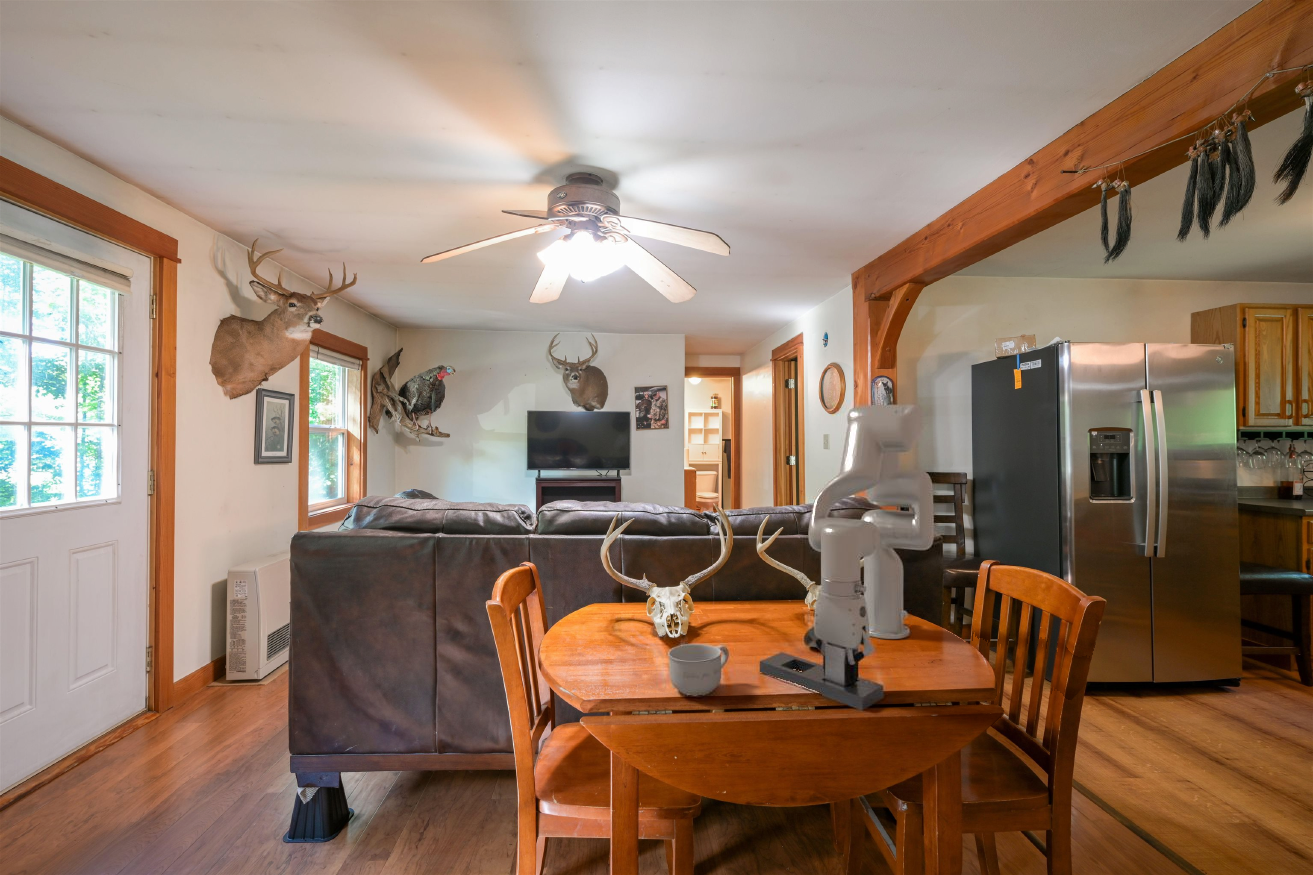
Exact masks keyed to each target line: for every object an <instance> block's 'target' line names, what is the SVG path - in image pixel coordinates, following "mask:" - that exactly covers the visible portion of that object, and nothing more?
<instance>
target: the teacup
mask: <svg viewBox="0 0 1313 875" xmlns="http://www.w3.org/2000/svg"><path fill="white" fill-rule="evenodd" d="M729 655H730V653H729V649H728V647H726V646H725V645H723V644H719V645H717V646H714V645H710V644H705V643H687V644H682V645H678V646H675V647H672V648H670V649H669V650H668V652H667V656H668V669H669V678H670V682H671V684H672V686H673V687H674V688H675V689H676V690H677V691H679V693H681V692H682V693H684V694H683V695H685V694H689V695H703V696H706V695H705V694H707V695H709V694H711V693H712V692H713V691H714V690H715V689H717V687H719V685H720V684H721V680H722V669H723V668H724V667H725V665H726V664H727V662H728V660H729V657H730V656H729ZM710 692H711V693H710ZM682 693H681V694H682ZM708 693H709V694H708Z"/></svg>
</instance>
